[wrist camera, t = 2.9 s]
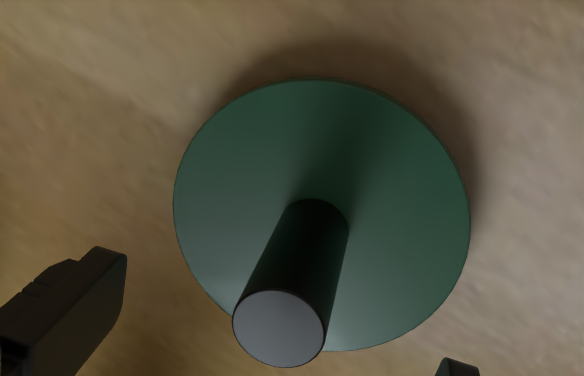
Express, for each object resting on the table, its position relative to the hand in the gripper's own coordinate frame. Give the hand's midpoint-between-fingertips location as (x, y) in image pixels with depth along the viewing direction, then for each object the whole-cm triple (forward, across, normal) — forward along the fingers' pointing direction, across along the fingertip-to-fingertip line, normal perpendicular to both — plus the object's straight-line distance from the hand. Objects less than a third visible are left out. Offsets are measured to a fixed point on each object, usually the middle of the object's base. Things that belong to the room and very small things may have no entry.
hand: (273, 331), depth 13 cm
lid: (+6, 0, 0) cm, 6 cm away
